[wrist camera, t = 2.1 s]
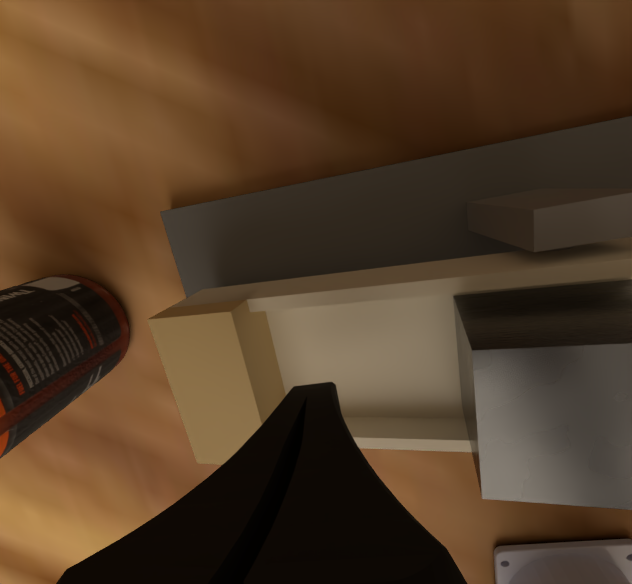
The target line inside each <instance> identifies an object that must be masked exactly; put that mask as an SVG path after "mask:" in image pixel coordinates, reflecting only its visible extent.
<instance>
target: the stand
mask: <svg viewBox="0 0 632 584" xmlns="http://www.w3.org/2000/svg"><path fill="white" fill-rule="evenodd" d="M160 213H161V216H162V220H163V223H164V226H165V229H166V233H167V236H168V239H169V242H170V245H171V249H172V252H173V255H174V258H175V262H176V265H177V268H178V271H179V275H180V278H181V281H182V284H183V288H184V291H185V294H186V297H187V298H188V297H189V296H191V295H193V294H195V293H197V292H199V291H200V290H202V289H210V288H218V287H226V286H234V285H243V284H251V283H259V282H267V281H275V280H284V279H292V278H300V277H308V276H316V275H325V274H333V273H341V272H349V271H358V270H366V269H374V268H382V267H390V266H399V265H407V264H415V263H423V262H431V261H440V260H448V259H456V258H464V257H473V256H481V255H489V254H497V253H505V252H514V251H522V250H528V251H531V252H540V251H546V250H552V249H558V248H564V247H571V246H577V245H583V244H589V243H595V242H602V241H608V240H614V239H620V238H629V237H632V116H629V117H624V118H619V119H614V120H609V121H604V122H600V123H595V124H590V125H585V126H580V127H575V128H570V129H565V130H560V131H555V132H550V133H545V134H540V135H536V136H531V137H526V138H521V139H516V140H511V141H506V142H501V143H496V144H491V145H486V146H481V147H476V148H472V149H467V150H462V151H457V152H452V153H447V154H442V155H437V156H432V157H427V158H422V159H417V160H412V161H408V162H403V163H398V164H393V165H388V166H383V167H378V168H373V169H368V170H363V171H358V172H353V173H348V174H344V175H339V176H334V177H329V178H324V179H319V180H314V181H309V182H304V183H299V184H294V185H289V186H284V187H279V188H275V189H270V190H265V191H260V192H255V193H250V194H245V195H240V196H235V197H230V198H225V199H220V200H215V201H211V202H206V203H201V204H196V205H191V206H186V207H181V208H176V209H171V210H166V211H161V212H160Z"/></svg>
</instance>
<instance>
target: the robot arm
mask: <svg viewBox="0 0 632 584" xmlns="http://www.w3.org/2000/svg"><path fill="white" fill-rule="evenodd" d="M494 566H495V583H496V584H632V539H611V540H593V541H576V542H559V543H541V544H524V545H506V546H498V547H497V548H496V549H495V550H494ZM56 584H467V582H466V581H465V579H464V577H463V575H462V574H461V572H460V570H459V569H458V567H457V565H456V564H455V562H454V560H453V559H452V557H451V555H450V554H449V552H448V550H447V549H446V548H445V547H444V546H443V545H442V544H441V543H440V542H439V541H438V540H437V539H436V538H435V537H433V536H432V535H431V534H430V533H429V532H428V531H427V530H426V529H425V528H424V527H423V526H422V525H421V524H420V523H419V522H418V521H417V520H416V519H415V518H414V517H413V516H412V515H411V514H410V513H409V512H408V511H407V510H406V509H405V507H404V506H403V505H402V504H401V503H400V502H399V501H398V500H397V499H396V497H395V496H394V495H393V494H392V493H391V491H390V490H389V489H388V488H387V487H386V485H385V484H384V483H383V482H382V481H381V479H380V478H379V477H378V476H377V474H376V473H375V471H374V470H373V469H372V467H371V466H370V464H369V463H368V462H367V460H366V458H365V457H364V455H363V454H362V452H361V451H360V449H359V447H358V446H357V444H356V442H355V441H354V439H353V437H352V435H351V433H350V431H349V429H348V427H347V425H346V423H345V421H344V418H343V416H342V414H341V409H340V404H339V398H338V393H337V388H336V384H334V383H333V382H325V383H317V384H309V385H301V386H294V387H293V388H292V389H291V390H290V391H289V392H288V394H287V395H286V396H285V397H284V399H283V400H282V401H281V402H280V404H279V405H278V406H277V407H276V409H275V410H274V411H273V412H272V413H271V415H270V416H269V417H268V418H267V419H266V421H265V422H264V423H263V424H262V425H261V426H260V428H259V429H258V430H257V431H256V432H255V433H254V434H253V435H252V436H251V437H250V438H249V439H248V440H247V441H246V443H245V444H244V445H243V446H242V447H241V448H240V449H239V450H238V451H237V452H236V453H235V454H234V455H233V456H232V457H231V458H230V459H228V460H227V461H226V462H225V463H224V464H223V465H222V466H221V467H220V468H218V469H217V470H216V471H215V472H214V473H213V474H212V475H210V476H209V477H208V478H207V479H206V480H204V481H203V482H202V483H200V484H199V485H198V486H196V487H195V488H194V489H193V490H191V491H190V492H189V493H187V494H186V495H185V496H184V497H182V498H181V499H180V500H178V501H177V502H176V503H174V504H173V505H172V506H170V507H169V508H167V509H166V510H164V511H163V512H161V513H160V514H159V515H157V516H156V517H154V518H153V519H151V520H150V521H148V522H146V523H145V524H143V525H142V526H140V527H139V528H137V529H136V530H134V531H133V532H131V533H129V534H128V535H126V536H124V537H123V538H121V539H119V540H118V541H116V542H114V543H112V544H111V545H109V546H107V547H105V548H104V549H102V550H100V551H99V552H97V553H95V554H93V555H92V556H90V557H88V558H86V559H85V560H83V561H81V562H79V563H77V564H76V565H74V566H72V567H70V568H68V569H67V570H66V571H65V572H64V574H63V575H62V576H61V578H60V579H59V580H58V582H57V583H56Z"/></svg>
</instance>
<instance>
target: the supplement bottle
mask: <svg viewBox="0 0 632 584" xmlns="http://www.w3.org/2000/svg"><path fill="white" fill-rule="evenodd" d="M129 338H130V332H129V324H128V321H127V318H126V316H125V313H124V311H123V310H122V308H121V306H120V305H119V303H118V302H117V301H116V299H115V298H114V297H113V296H112V295H111V294H110V293H109V292H108V291H107V290H106V289H104V288H103V287H101V286H100V285H98V284H97V283H95V282H93V281H91V280H88V279H86V278H83V277H79V276H74V275H54V276H51V277H46V278H41V279H38V280H34V281H30V282H27V283H24V284H21V285H18V286H14V287H11V288H7V289H4V290H1V291H0V458H1V457H3V456H4V455H6V454H7V453H8V452H9V451H10V450H12V449H13V448H14V447H15V446H17V445H18V444H19V443H20V442H22V441H23V440H24V439H26V438H27V437H28V436H29V435H30V434H32V433H33V432H34V431H36V430H37V429H38V428H40V427H41V426H42V425H43V424H45V423H46V422H48V421H49V420H50V419H51V418H52V417H54V416H55V415H56V414H57V413H59V412H60V411H61V410H62V409H64V408H65V407H66V406H67V405H69V404H70V403H71V402H72V401H74V400H75V399H76V398H78V397H79V396H80V395H81V394H82V393H84V392H85V391H86V390H88V389H89V388H90V387H91V386H92V385H94V384H95V383H96V382H98V381H99V380H100V379H101V378H103V377H104V376H105V375H106V374H108V373H109V372H110V371H111V370H112V369H113V368H114V367H115V366H117V365H118V364H119V362H120V361H121V360H122V359H123V358H124V356H125V354H126V352H127V349H128V345H129Z"/></svg>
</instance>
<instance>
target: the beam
mask: <svg viewBox="0 0 632 584" xmlns="http://www.w3.org/2000/svg"><path fill="white" fill-rule="evenodd" d="M630 279H632V237H629V238H620V239H614V240H608V241H602V242H595V243H589V244H583V245H577V246H571V247H564V248H558V249H552V250H546V251H540V252H531V251H528V250H522V251H514V252H505V253H497V254H489V255H481V256H473V257H464V258H456V259H448V260H440V261H431V262H423V263H415V264H407V265H399V266H390V267H382V268H374V269H366V270H358V271H349V272H341V273H333V274H325V275H316V276H308V277H300V278H292V279H284V280H275V281H267V282H259V283H251V284H243V285H234V286H226V287H218V288H210V289H202V290H200V291H199V292H197V293H195V294H193V295H191V296H189V297H188V298H186V299H184V300H182V301H180V302H179V303H177V304H175V305H173V306H171V307H169V308H168V309H166V310H164V311H162V312H160V313H158V314H157V315H155V316H153V317H151V318H149V319H147V320H148V323H149V326H150V329H151V332H152V335H153V338H154V341H155V343H156V346H157V349H158V352H159V355H160V358H161V361H162V363H163V366H164V369H165V372H166V375H167V378H168V381H169V384H170V386H171V389H172V392H173V395H174V398H175V401H176V404H177V406H178V409H179V412H180V415H181V418H182V421H183V424H184V427H185V429H186V432H187V435H188V438H189V441H190V444H191V447H192V449H193V452H194V455H195V458H196V461H197V463H201V464H218V465H223V464H224V463H225V462H226V461H227V460H228V459H230V458H231V457H232V456H233V455H234V454H235V453H236V452H237V451H238V450H239V449H240V448H241V447H242V446H243V445H244V444H245V443H246V441H247V440H248V439H249V438H250V437H251V436H252V435H253V434H254V433H255V432H256V431H257V430H258V429H259V428H260V426H261V425H262V424H263V423H264V422H265V421H266V419H267V418H268V417H269V416H270V415H271V413H272V412H273V411H274V410H275V409H276V407H277V406H278V405H279V404H280V402H281V401H282V400H283V399H284V397H285V396H286V395H287V394H288V392H289V391H290V390H291V389H292V388H293V387H294V386H301V385H309V384H317V383H325V382H333V383H334V384H336V388H337V393H338V398H339V404H340V409H341V414H342V416H343V418H344V421H345V423H346V425H347V427H348V429H349V431H350V433H351V435H352V437H353V439H354V441H355V442H356V444H357V446H358V447H359V448H371V449H398V450H424V451H451V452H472V450H471V445H470V441H469V436H468V432H467V427H466V422H465V418H464V413H463V409H462V399H461V387H460V375H459V363H458V350H457V338H456V326H455V314H454V302H453V296H455V295H466V294H477V293H488V292H499V291H510V290H521V289H532V288H543V287H554V286H565V285H576V284H587V283H598V282H609V281H620V280H630Z"/></svg>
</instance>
